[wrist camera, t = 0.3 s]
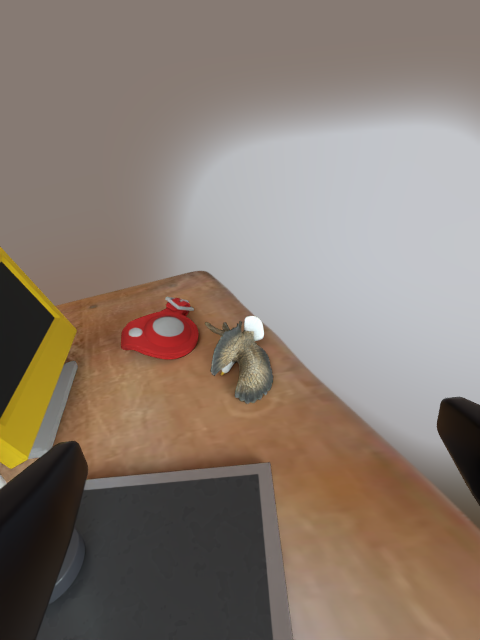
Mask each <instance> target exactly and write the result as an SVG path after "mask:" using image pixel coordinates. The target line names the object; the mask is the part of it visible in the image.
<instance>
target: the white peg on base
mask: <svg viewBox="0 0 480 640" xmlns="http://www.w3.org/2000/svg"><path fill="white" fill-rule="evenodd" d="M6 484H7V483H6V481H5V480H4V479H3V477H2V476H1V475H0V489H1V488H2V487H3V486H4V485H6ZM84 555H85V544H84V540H83V538H82V536H81V535H80V533H79V532H78V530H77V529H76V527H74V531H73V534H72V538H71V541H70V544H69V547H68V550H67V553H66V556H65V559H64V562H63V565H62V567H61V570H60V573H59V576H58V579H57V581H56V584H55V587H54V590H53V593H52V596H51V598H50V601H49V604H51V603H52V602H54V601H55V600H56V599H58V598H59V597H60V596H61V595H62V594H63V593H64V592H65V591H66V590H67V589H68V588H69V587H70V585H71V584H72V583H73V581H74V580H75V578H76V577H77V575H78V573H79V571H80V569H81V566H82V564H83V560H84ZM49 604H48V605H49Z"/></svg>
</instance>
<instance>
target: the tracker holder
mask: <svg viewBox="0 0 480 640" xmlns="http://www.w3.org/2000/svg"><path fill="white" fill-rule="evenodd" d="M165 299H166V300H167V301H168V303H167V304H166V307H167V308H166V309H164V310H162V311H161V312H156V313H153V314H149V315H146V316H143V317H140V318H138V319H135V320H133V321H131V322H129V323H128V324H127V325H126V326H125V328H124V329H123V331H122V334H121V348H122V349H123V350H135V351H138V352H140V353H142V354H145V355H148V356H152V357H155V358H161V359H176V358H180V357H183V356H185V355H187V354H188V353H190V352H191V351H192V350H193V349H194V348H195V346H196V344H197V341H198V336H199V333H198V329H197V326H196V325H195V324H194V322H193V321H192V320H190V319H189V318H188V317H186V316H187V314H188V313H189V311H193V310H194V308H192V307H191V306H190V304H189V301H187V300H182V299H179V298H171V297H166V298H165Z"/></svg>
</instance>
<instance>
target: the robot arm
mask: <svg viewBox="0 0 480 640" xmlns="http://www.w3.org/2000/svg"><path fill="white" fill-rule="evenodd" d="M437 430H438V433H439V435H440V437H441V439H442V441H443V443H444V444H445V446H446V448H447V450H448V452H449V454H450V455H451V457H452V459H453V461H454V463H455V464H456V466H457V468H458V470H459V472H460V474H461V475H462V477H463V479H464V481H465V483H466V485H467V486H468V488H469V489H470V491H471V493H472V495H473V496H474V498H475V499H476V501H477V502H478V504H479V506H480V405H479V404H476V403H474V402H472V401H470V400H467V399H465V398H462V397H452V398H445V399H443V400H442V401H441V404H440V410H439V415H438V420H437ZM87 475H88V465H87V462H86V460H85V457H84V455H83V452H82V450H81V448H80V445H79V443H77V442H76V441H69V442H61V443H58V444H56V445H55V446H54V447H53V448H51V449H50V450H49V451H48V452H46V453H45V454H44V455H42V456H41V457H40V458H39V459H37V460H36V461H35V462H34V463H32V464H31V465H30V466H29V467H27V468H26V469H25V470H23V471H22V472H21V473H20V474H18V475H17V476H16V477H15V478H13V479H12V480H11V481H10V482H8V483H7V484H6V485H4V486H3V487H2V488H1V489H0V640H36V638H37V635H38V632H39V629H40V627H41V624H42V621H43V618H44V615H45V612H46V610H47V607H48V604H49V601H50V598H51V596H52V593H53V590H54V587H55V584H56V581H57V579H58V576H59V573H60V570H61V567H62V565H63V562H64V559H65V556H66V553H67V550H68V547H69V544H70V541H71V538H72V534H73V531H74V527H75V523H76V519H77V515H78V511H79V507H80V503H81V499H82V495H83V491H84V487H85V483H86V479H87Z"/></svg>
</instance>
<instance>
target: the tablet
mask: <svg viewBox="0 0 480 640" xmlns="http://www.w3.org/2000/svg"><path fill="white" fill-rule="evenodd" d="M75 527H76V529H77V530H78V532H79V533H80V535H81V536H82V538H83V540H84V544H85V555H84V560H83V564H82V566H81V569H80V571H79V573H78V575H77V577H76V578H75V580H74V581H73V583H72V584H71V585H70V587H69V588H68V589H67V590H66V591H65V592H64V593H63V594H62V595H61V596H60V597H59V598H58V599H56V600H55V601H54V602H52V603H51V604H49V605H48V607H47V610H46V612H45V615H44V618H43V621H42V624H41V627H40V629H39V632H38V635H37V638H36V640H293V635H292V627H291V619H290V611H289V604H288V596H287V588H286V580H285V573H284V565H283V557H282V549H281V542H280V534H279V526H278V518H277V510H276V503H275V495H274V487H273V479H272V472H271V464H270V463H269V462H268V463H258V464H247V465H236V466H226V467H215V468H204V469H193V470H183V471H172V472H161V473H151V474H140V475H129V476H119V477H108V478H97V479H87V480H86V483H85V487H84V491H83V495H82V499H81V503H80V507H79V511H78V515H77V519H76V523H75Z"/></svg>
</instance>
